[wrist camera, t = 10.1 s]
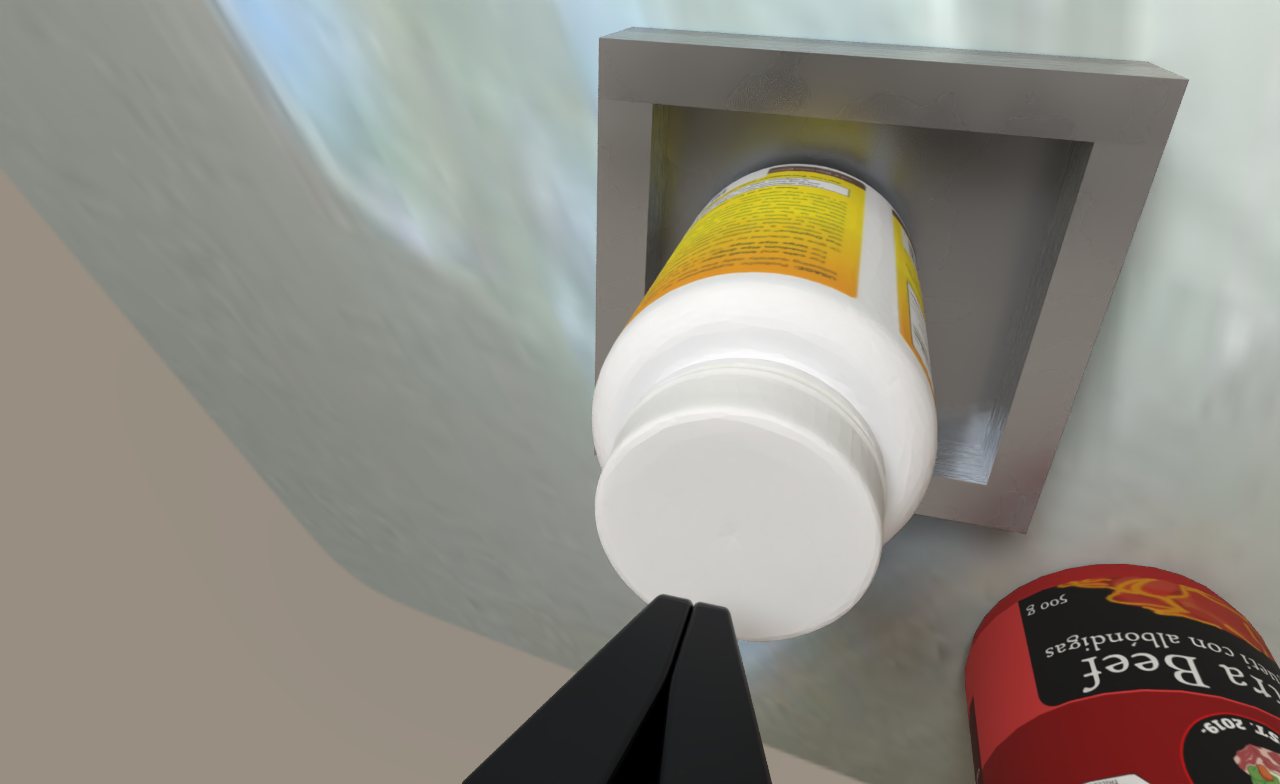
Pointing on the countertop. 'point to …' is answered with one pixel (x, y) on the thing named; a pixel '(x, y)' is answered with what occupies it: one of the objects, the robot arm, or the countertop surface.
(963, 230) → the square metal tray
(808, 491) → the supplement bottle
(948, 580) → the countertop surface
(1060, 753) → the canned food
